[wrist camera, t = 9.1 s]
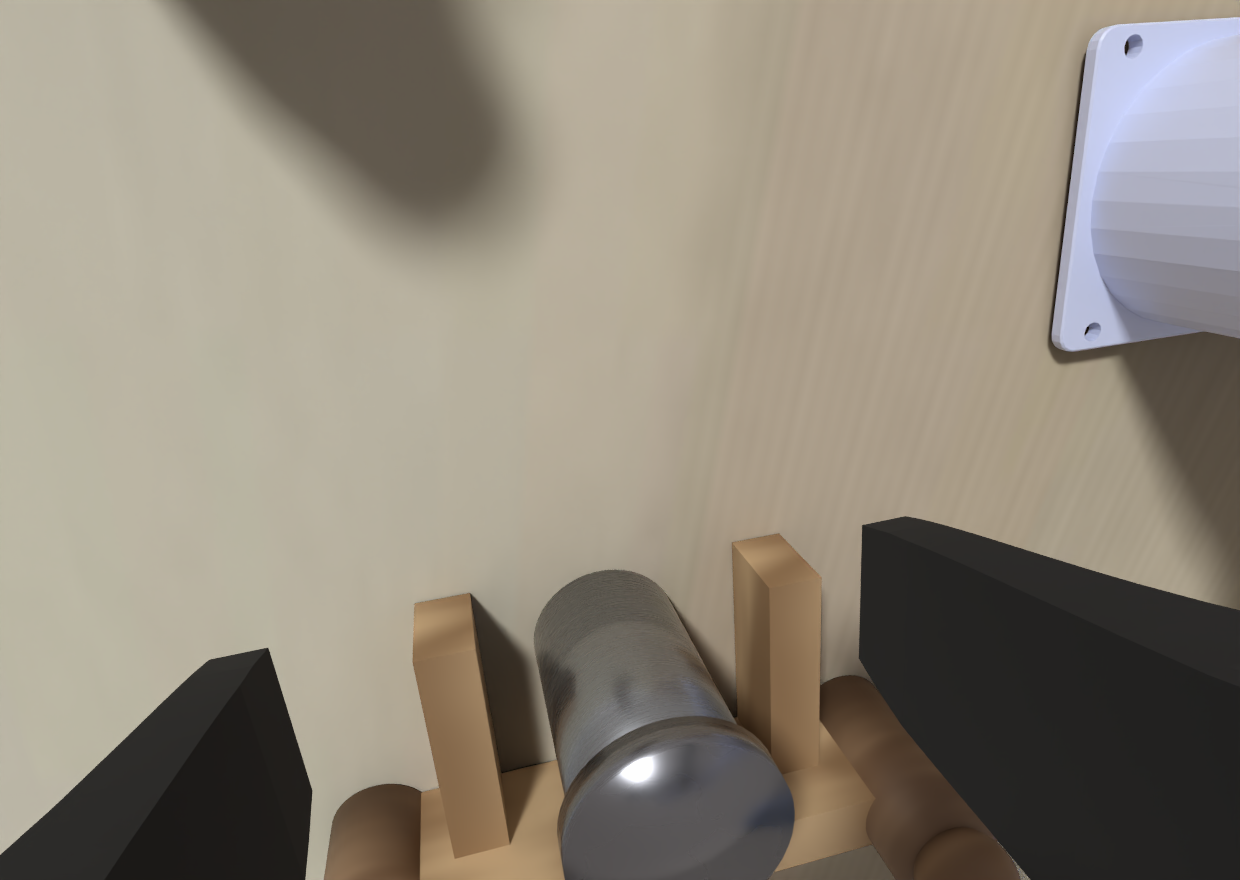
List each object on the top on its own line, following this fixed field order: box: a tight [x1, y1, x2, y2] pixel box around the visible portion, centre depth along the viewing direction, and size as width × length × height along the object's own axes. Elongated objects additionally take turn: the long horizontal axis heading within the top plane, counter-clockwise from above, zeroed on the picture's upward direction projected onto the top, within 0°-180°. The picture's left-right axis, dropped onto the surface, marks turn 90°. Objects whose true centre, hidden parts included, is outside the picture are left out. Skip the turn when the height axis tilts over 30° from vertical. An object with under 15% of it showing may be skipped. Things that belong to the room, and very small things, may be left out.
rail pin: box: [534, 570, 795, 880], centre depth 18 cm, size 5×5×7 cm
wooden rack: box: [324, 534, 1021, 880], centre depth 18 cm, size 17×8×7 cm, turn 95°
